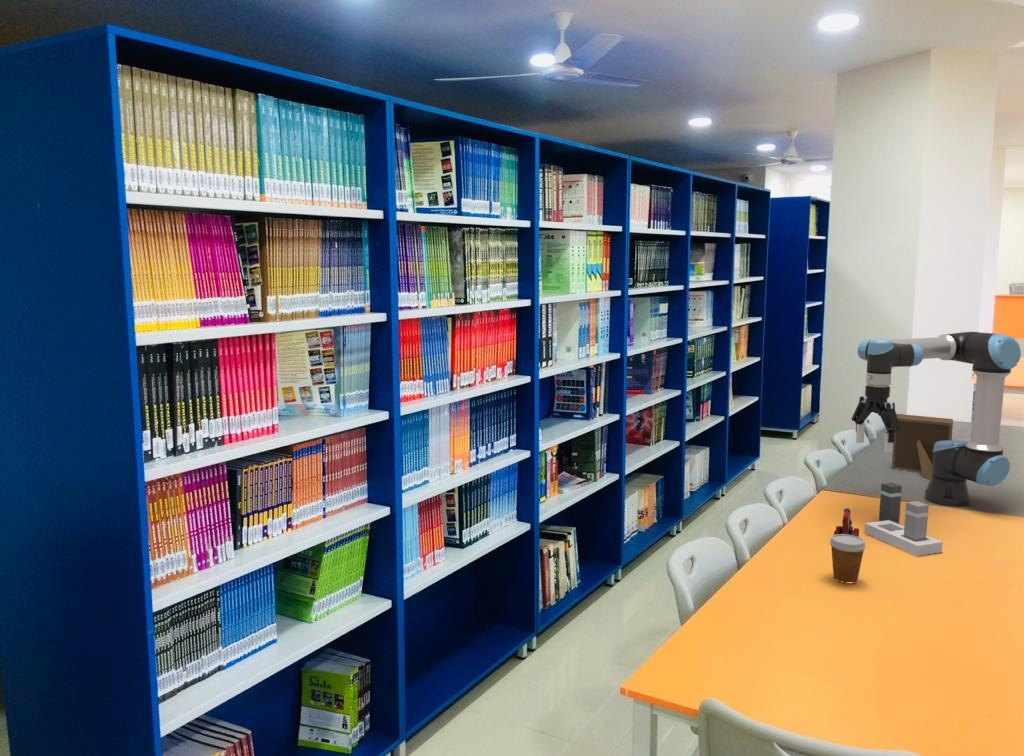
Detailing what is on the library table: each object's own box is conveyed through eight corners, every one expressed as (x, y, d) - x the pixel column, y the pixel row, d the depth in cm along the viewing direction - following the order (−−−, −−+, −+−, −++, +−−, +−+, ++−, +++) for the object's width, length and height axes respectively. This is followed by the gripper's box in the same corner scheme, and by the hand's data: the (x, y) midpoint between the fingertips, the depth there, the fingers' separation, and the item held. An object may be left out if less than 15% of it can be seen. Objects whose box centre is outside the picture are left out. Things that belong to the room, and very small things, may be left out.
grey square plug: (914, 542, 252) (917, 500, 250) (925, 547, 248) (929, 505, 246) (902, 544, 251) (905, 502, 249) (914, 549, 246) (917, 506, 244)
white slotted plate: (888, 529, 266) (888, 520, 265) (941, 552, 245) (942, 542, 245) (864, 533, 263) (865, 523, 262) (916, 556, 242) (917, 545, 242)
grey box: (889, 521, 275) (891, 482, 273) (899, 525, 271) (902, 485, 269) (878, 522, 274) (881, 483, 271) (888, 526, 269) (891, 487, 267)
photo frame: (893, 466, 346) (897, 411, 342) (949, 473, 334) (954, 416, 330) (888, 475, 333) (892, 417, 329) (946, 482, 322) (951, 423, 318)
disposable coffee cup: (847, 588, 219) (850, 547, 217) (820, 576, 227) (822, 536, 226) (870, 582, 223) (873, 541, 222) (843, 570, 232) (845, 531, 230)
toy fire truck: (859, 537, 259) (861, 506, 258) (855, 549, 249) (857, 517, 247) (836, 533, 263) (838, 503, 261) (832, 545, 252) (834, 514, 250)
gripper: (843, 380, 274) (839, 439, 277) (896, 391, 250) (891, 456, 253) (861, 379, 276) (857, 438, 279) (915, 390, 252) (910, 454, 255)
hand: (873, 447), depth 266 cm, fingers open, 13 cm apart
